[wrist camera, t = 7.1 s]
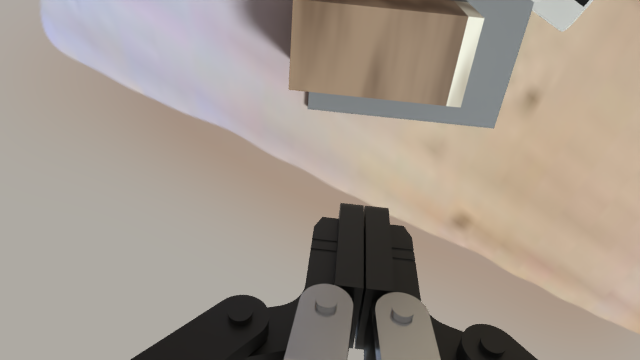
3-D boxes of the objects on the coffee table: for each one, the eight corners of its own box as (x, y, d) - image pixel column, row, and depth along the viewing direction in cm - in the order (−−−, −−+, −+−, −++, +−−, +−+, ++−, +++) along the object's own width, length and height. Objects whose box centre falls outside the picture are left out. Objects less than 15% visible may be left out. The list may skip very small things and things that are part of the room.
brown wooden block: (301, -15, 32) (467, 2, 32) (296, 66, 36) (448, 82, 35) (292, -2, 28) (484, 18, 28) (288, 89, 31) (460, 107, 31)
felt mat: (547, -47, 30) (549, -46, 30) (492, 126, 37) (493, 128, 37) (320, -69, 31) (320, -69, 30) (308, 107, 38) (307, 108, 37)
